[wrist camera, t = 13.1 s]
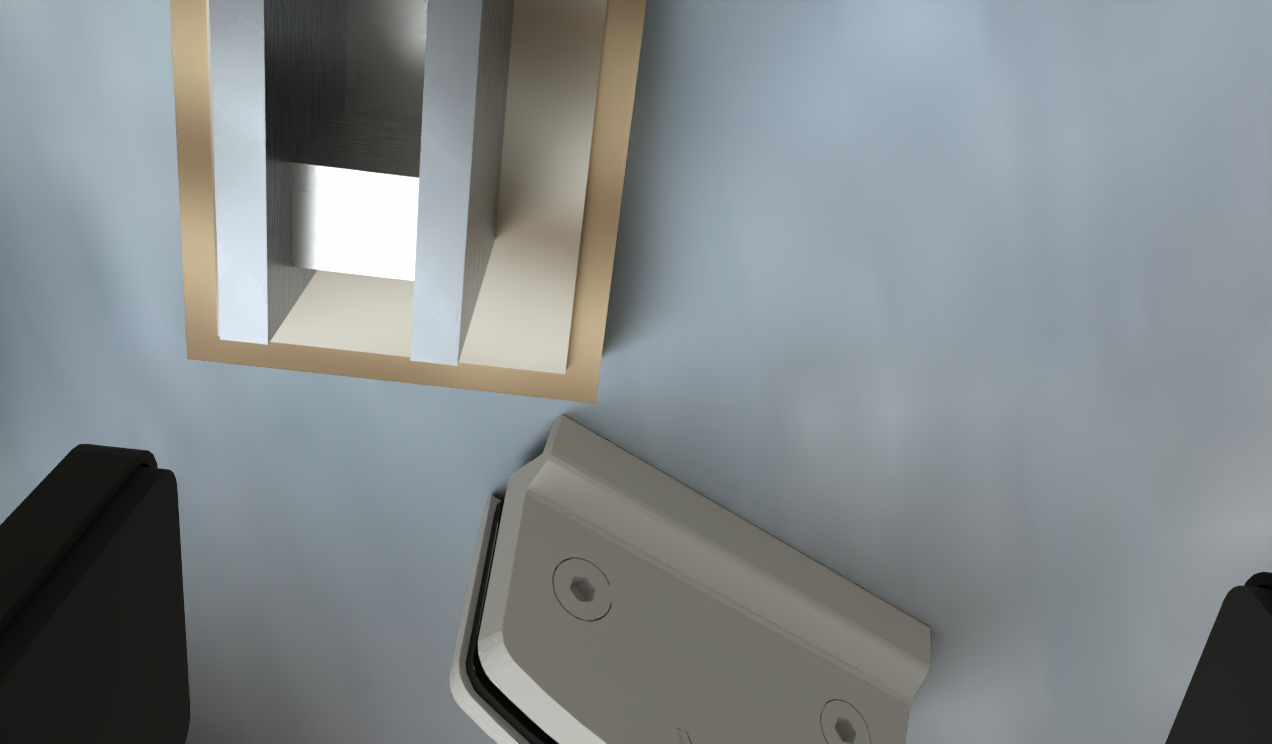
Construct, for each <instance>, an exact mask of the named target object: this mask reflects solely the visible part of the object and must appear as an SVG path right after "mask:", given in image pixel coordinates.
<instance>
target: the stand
mask: <svg viewBox="0 0 1272 744" xmlns="http://www.w3.org/2000/svg"><path fill="white" fill-rule="evenodd" d="M646 2H647V0H514V11H513V24H512V36H511V49H510V61H509V74H508V86H507V99H506V111H505V124H504V137H503V149H502V162H501V174H500V187H499V199H498V212H497V224H496V237H495V242H494V246H493V249H492V252H491V256H490V259H489V262H488V266H487V269H486V272H485V276H484V279H483V282H482V286H481V289H480V292H479V296H478V299H477V302H476V306H475V309H474V312H473V316H472V319H471V323H470V326H469V329H468V333H467V336H466V339H465V343H464V346H463V349H462V353H461V356H460V359H459V363H458V366H454V365H445V364H436V363H427V362H418V361H411V340H412V320H413V299H414V281H411V280H402V279H393V278H385V277H376V276H368V275H359V274H350V273H342V272H333V271H324V270H317V272H316V273H315V275H314V276H313V278H312V279H311V281H310V282H309V284H308V285H307V287H306V288H305V290H304V291H303V293H302V294H301V296H300V297H299V299H298V300H297V302H296V303H295V305H294V306H293V308H292V309H291V311H290V312H289V314H288V315H287V317H286V318H285V320H284V321H283V323H282V324H281V326H280V327H279V329H278V330H277V332H276V333H275V335H274V336H273V338H272V339H271V341H270V342H269V344H268V345H266V344H257V343H248V342H239V341H230V340H221V339H220V325H219V294H218V263H217V232H216V202H215V171H214V140H213V110H212V79H211V48H210V17H209V0H170V11H171V32H172V52H173V73H174V94H175V114H176V135H177V155H178V176H179V197H180V217H181V238H182V258H183V279H184V300H185V320H186V341H187V359H192V360H201V361H211V362H220V363H229V364H238V365H248V366H257V367H266V368H275V369H284V370H294V371H303V372H312V373H321V374H330V375H340V376H349V377H358V378H367V379H376V380H386V381H395V382H404V383H413V384H422V385H432V386H441V387H450V388H459V389H468V390H478V391H487V392H496V393H505V394H514V395H524V396H533V397H542V398H551V399H561V400H570V401H579V402H588V403H596V397H597V389H598V381H599V373H600V365H601V357H602V350H603V342H604V334H605V326H606V318H607V310H608V302H609V294H610V286H611V278H612V271H613V263H614V255H615V247H616V239H617V231H618V223H619V215H620V207H621V200H622V192H623V184H624V176H625V168H626V160H627V152H628V144H629V136H630V128H631V121H632V113H633V105H634V97H635V89H636V81H637V73H638V65H639V57H640V50H641V42H642V34H643V26H644V18H645V10H646Z"/></svg>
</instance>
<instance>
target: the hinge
mask: <svg viewBox="0 0 1272 744" xmlns="http://www.w3.org/2000/svg"><path fill="white" fill-rule="evenodd" d="M930 663H931V642H930V628H929V627H928V626H926V625H924V624H922V623H921V622H919V621H917V620H916V619H914V618H912V617H910V616H909V615H907V614H905V613H904V612H902V611H900V610H898V609H897V608H895V607H893V606H891V605H890V604H888V603H886V602H885V601H883V600H881V599H879V598H878V597H876V596H874V595H873V594H871V593H869V592H867V591H866V590H864V589H862V588H860V587H859V586H857V585H855V584H854V583H852V582H850V581H848V580H847V579H845V578H843V577H842V576H840V575H838V574H836V573H835V572H833V571H831V570H829V569H828V568H826V567H824V566H823V565H821V564H819V563H817V562H816V561H814V560H812V559H811V558H809V557H807V556H805V555H804V554H802V553H800V552H798V551H797V550H795V549H793V548H792V547H790V546H788V545H786V544H785V543H783V542H781V541H780V540H778V539H776V538H774V537H773V536H771V535H769V534H768V533H766V532H764V531H762V530H761V529H759V528H757V527H755V526H754V525H752V524H750V523H749V522H747V521H745V520H743V519H742V518H740V517H738V516H737V515H735V514H733V513H731V512H730V511H728V510H726V509H724V508H723V507H721V506H719V505H718V504H716V503H714V502H712V501H711V500H709V499H707V498H706V497H704V496H702V495H700V494H699V493H697V492H695V491H693V490H692V489H690V488H688V487H687V486H685V485H683V484H681V483H680V482H678V481H676V480H675V479H673V478H671V477H669V476H668V475H666V474H664V473H662V472H661V471H659V470H657V469H656V468H654V467H652V466H650V465H649V464H647V463H645V462H644V461H642V460H640V459H638V458H637V457H635V456H633V455H632V454H630V453H628V452H626V451H625V450H623V449H621V448H619V447H618V446H616V445H614V444H613V443H611V442H609V441H607V440H606V439H604V438H602V437H601V436H599V435H597V434H595V433H594V432H592V431H590V430H588V429H587V428H585V427H583V426H582V425H580V424H578V423H576V422H575V421H573V420H571V419H570V418H568V417H566V416H564V415H562V416H560V417H559V418H558V419H557V420H556V421H555V422H554V423H553V424H552V427H551V430H550V433H549V436H548V439H547V442H546V445H545V448H544V451H543V453H542V454H541V455H540V456H538V457H537V458H535V459H534V460H532V461H531V462H529V463H528V464H526V465H525V466H523V467H522V468H520V469H519V470H517V471H516V472H514V473H513V474H511V475H510V476H509V478H508V484H507V489H506V494H505V500H503V499H502V500H499V499H497V498H496V497H494V496H492V495H491V496H490V498H489V501H488V503H487V505H486V507H485V510H484V513H483V515H482V518H481V523H480V528H479V533H478V538H477V543H476V547H475V552H474V557H473V562H472V567H471V572H470V577H469V582H468V587H467V592H466V597H465V602H464V607H463V612H462V617H461V622H460V627H459V632H458V637H457V642H456V646H455V651H454V656H453V661H452V666H451V671H450V681H449V682H450V688H451V692H452V695H453V697H454V699H455V701H456V702H457V704H458V705H459V706H460V707H461V708H462V709H463V710H464V711H465V712H466V713H467V714H468V715H469V716H470V717H471V718H472V719H473V720H474V721H475V722H476V723H477V724H478V725H479V726H480V727H481V728H482V729H483V730H484V731H485V732H486V733H487V734H488V735H489V736H490V737H491V738H492V739H493V740H494V741H496V742H497V743H498V744H905V739H906V732H907V724H908V717H909V710H910V706H911V703H912V700H913V699H914V697H915V695H916V693H917V692H918V690H919V688H920V686H921V685H922V683H923V681H924V679H925V678H926V676H927V674H928V672H929V669H930Z"/></svg>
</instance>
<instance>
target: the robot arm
mask: <svg viewBox="0 0 1272 744" xmlns="http://www.w3.org/2000/svg"><path fill="white" fill-rule="evenodd" d="M189 721H190V699H189V682H188V664H187V647H186V630H185V613H184V595H183V578H182V561H181V544H180V526H179V509H178V492H177V482H176V478H175V475H174V473H173V472H172V471H171V470H167V469H158V468H157V462H156V460H155V458H154V455H153V454H152V453H151V452H149V451H146V450H137V449H128V448H119V447H110V446H100V445H91V444H79V445H78V446H76V447H75V448H74V449H72V450H71V451H70V452H69V453H68V454H67V455H66V456H65V458H64V459H63V460H62V461H61V462H60V463H59V464H58V465H57V466H56V467H55V468H54V469H53V470H52V471H51V472H50V473H49V474H48V475H47V477H46V478H45V479H44V480H43V481H42V482H41V483H40V484H39V485H38V486H37V487H36V488H35V489H34V490H33V491H32V492H31V493H30V494H29V496H28V497H27V498H26V499H25V500H24V501H23V502H22V503H21V504H20V505H19V506H18V507H17V508H16V509H15V510H14V511H13V512H12V513H11V515H10V516H9V517H8V518H7V519H6V520H5V521H4V522H3V523H2V524H1V525H0V744H185V741H186V738H187V733H188V728H189ZM1165 744H1272V573H1269V572H1261V573H1257V574H1254V575H1253V576H1252V577H1251V578H1250V579H1249V580H1247V581H1246V583H1245V585H1244V586H1237V587H1234V588H1233V589H1231V590H1230V591H1229V592H1228V594H1227V595H1226V597H1225V599H1224V601H1223V603H1222V606H1221V608H1220V611H1219V613H1218V616H1217V618H1216V621H1215V623H1214V625H1213V628H1212V630H1211V633H1210V635H1209V638H1208V640H1207V643H1206V645H1205V648H1204V650H1203V652H1202V655H1201V657H1200V660H1199V662H1198V665H1197V667H1196V670H1195V672H1194V675H1193V677H1192V679H1191V682H1190V684H1189V687H1188V689H1187V692H1186V694H1185V697H1184V699H1183V701H1182V704H1181V706H1180V709H1179V711H1178V714H1177V716H1176V719H1175V721H1174V724H1173V726H1172V728H1171V731H1170V733H1169V736H1168V738H1167V741H1166V743H1165Z"/></svg>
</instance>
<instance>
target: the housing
mask: <svg viewBox="0 0 1272 744" xmlns="http://www.w3.org/2000/svg"><path fill="white" fill-rule="evenodd" d="M513 11H514V0H209V17H210V48H211V79H212V110H213V140H214V171H215V202H216V232H217V263H218V294H219V325H220V339H221V340H230V341H239V342H248V343H257V344H266V345H268V344H269V342H270V341H271V339H272V338H273V336H274V335H275V333H276V332H277V330H278V329H279V327H280V326H281V324H282V323H283V321H284V320H285V318H286V317H287V315H288V314H289V312H290V311H291V309H292V308H293V306H294V305H295V303H296V302H297V300H298V299H299V297H300V296H301V294H302V293H303V291H304V290H305V288H306V287H307V285H308V284H309V282H310V281H311V279H312V278H313V276H314V275H315V273H316V272H317V270H324V271H333V272H342V273H350V274H359V275H368V276H376V277H385V278H393V279H402V280H411V281H414V299H413V320H412V340H411V361H418V362H427V363H436V364H445V365H454V366H458V363H459V359H460V356H461V353H462V349H463V346H464V343H465V339H466V336H467V333H468V329H469V326H470V323H471V319H472V316H473V312H474V309H475V306H476V302H477V299H478V296H479V292H480V289H481V286H482V282H483V279H484V276H485V272H486V269H487V266H488V262H489V259H490V256H491V252H492V249H493V246H494V242H495V237H496V224H497V212H498V199H499V187H500V174H501V162H502V149H503V137H504V124H505V111H506V99H507V86H508V74H509V61H510V49H511V36H512V24H513Z"/></svg>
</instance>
